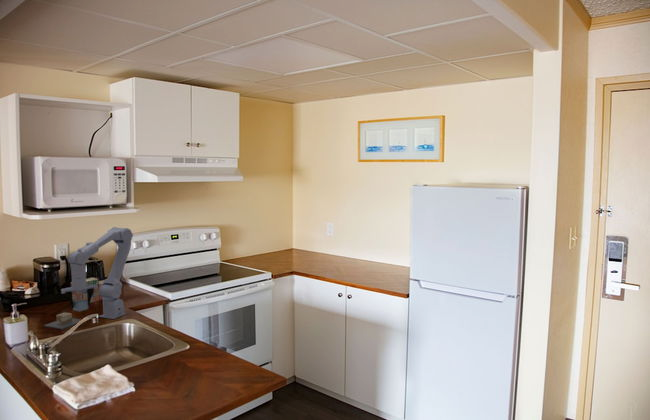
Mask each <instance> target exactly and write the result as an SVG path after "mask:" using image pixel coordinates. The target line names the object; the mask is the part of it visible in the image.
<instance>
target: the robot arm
mask: <svg viewBox="0 0 650 420" xmlns="http://www.w3.org/2000/svg"><path fill="white" fill-rule="evenodd" d="M133 236H134V234H133V232H132V230H131V229H130V228H128V227H125V228H124V227H116V226H115V227H111V228H110V229H108V230H107V232H106V233H104V235H101V236H100V238H98V239H97V240H95V241H94V242H92V241H90V242H88V241H87V242H86V243H85V245H84V246H82V247H81V248H77V250H76V251H72V252H70V253H69V255H68V258H66V259H67V262H68V263H69V265H70V266H69V267H70V269H71V270H70V271H71V282H72V287H71V286H70V287H69V286H68V287H65V288H61V289H60V291H61V295H62V294H65V295H66V298H67V299H68V301H69V304H70V308H71V309H73V299H72V292H76V291H84V290H87V297H88V298H87V300H88V307H89V306H90V305H91V303H90V300H91V297H92V295H93V293H94V289H97V284H93V285H86V279H87V275H86V264H87V262H88V260H89V259H90V258H91V257H92V256H95V255H96V254H97V253H98V252H99V249H100V248H101V247H103V246H105V245H107V244H108V243H110V242H111V241H113V243H114V244H116V246H117V247H118V248H117V251H116V254H115V257H114V259H113V263H112V265H111V268H110V271H109V274H108V276H107V278H106V279H104V281H103V280H102V281H103V283H102V285H101V286H100V288H99V295H100V296H102V299H103V300H102V314H101V315H99V316H98V317H99V318H103V319H104V318H105V319H111V320H115V319H117V318H120V317H122V316H125V315H126V314H127V313H125V302H124V300H123V299H121V298H120V296H121V295H122V288H123V283H122V281H121V280H120V279H121V277H122V274H123V271H124V268H125V266H126V262H127V259H128V257H129V253H130V250H131V248H132V239H133Z"/></svg>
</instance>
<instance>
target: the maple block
mask: <svg viewBox="0 0 650 420" xmlns="http://www.w3.org/2000/svg"><path fill="white" fill-rule="evenodd" d="M72 318H73V313H70V312H62V313H59V314H56V321H57V324H62V325H65V324H67V323H70V322H72Z"/></svg>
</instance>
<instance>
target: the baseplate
mask: <svg viewBox="0 0 650 420" xmlns="http://www.w3.org/2000/svg"><path fill="white" fill-rule="evenodd" d="M80 320H82V319H79V318H74V317H72V322H70V323H67V324H65V325H62V324H57V320H55V321H51V322H50V323H47V324H44V326H43V327H45V328H51V329H55V330H56V329H57V330H66V329H69V328H71V327H74V326H76V325H75V324H77V322H79V321H80ZM77 325H78V324H77Z"/></svg>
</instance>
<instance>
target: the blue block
mask: <svg viewBox="0 0 650 420" xmlns="http://www.w3.org/2000/svg"><path fill="white" fill-rule="evenodd" d="M85 310H89V306H88V300H83V299H80V300H77V301H73V308H72V311H76V312H82V311H85Z"/></svg>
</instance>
